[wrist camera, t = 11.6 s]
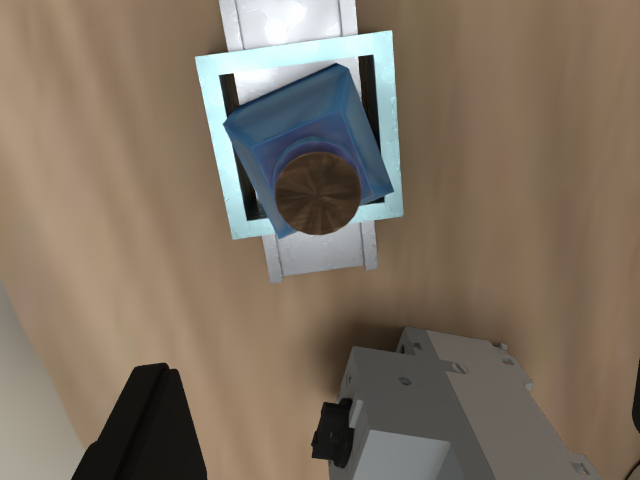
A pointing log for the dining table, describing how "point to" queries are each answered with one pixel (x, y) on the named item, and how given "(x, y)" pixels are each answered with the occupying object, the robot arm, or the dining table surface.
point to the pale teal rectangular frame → (277, 71)
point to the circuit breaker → (440, 416)
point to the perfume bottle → (310, 152)
